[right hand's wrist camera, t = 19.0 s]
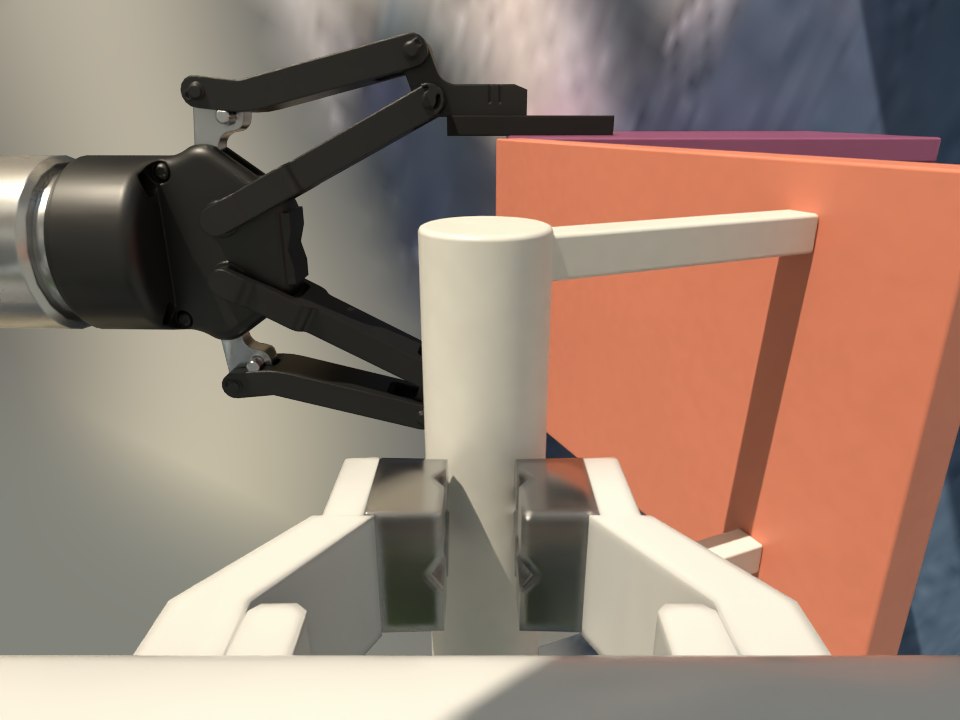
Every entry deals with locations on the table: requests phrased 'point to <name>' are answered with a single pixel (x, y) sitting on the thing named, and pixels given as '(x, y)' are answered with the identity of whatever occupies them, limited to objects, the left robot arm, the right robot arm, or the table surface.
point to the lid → (701, 366)
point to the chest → (777, 143)
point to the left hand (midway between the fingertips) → (600, 246)
